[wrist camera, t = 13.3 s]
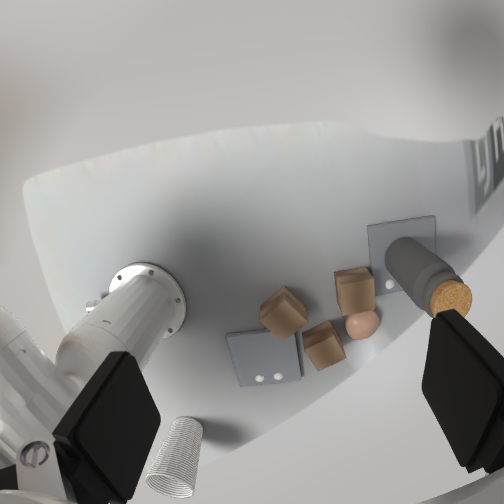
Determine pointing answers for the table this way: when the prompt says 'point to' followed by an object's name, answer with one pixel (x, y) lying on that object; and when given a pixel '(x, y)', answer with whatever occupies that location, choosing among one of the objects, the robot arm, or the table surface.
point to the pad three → (388, 233)
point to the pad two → (263, 357)
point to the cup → (177, 460)
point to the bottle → (426, 278)
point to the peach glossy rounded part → (361, 324)
